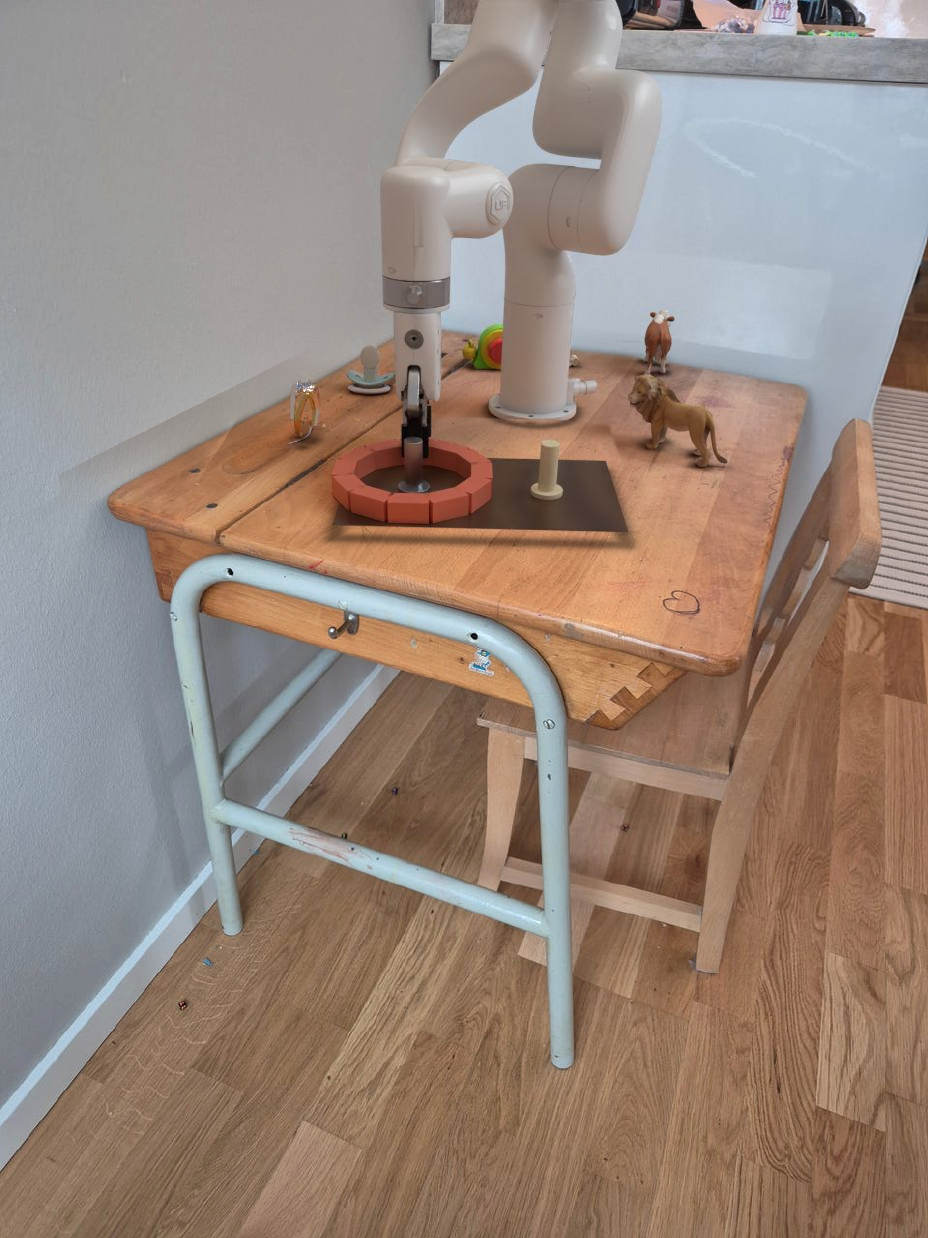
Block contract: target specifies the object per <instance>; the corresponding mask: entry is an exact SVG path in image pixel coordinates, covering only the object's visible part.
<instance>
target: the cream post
mask: <svg viewBox="0 0 928 1238" xmlns="http://www.w3.org/2000/svg"><path fill="white" fill-rule="evenodd" d="M560 445H561V444H560V442H559V441H557V440H553V439H545V440H542V441H541V443H540V452H539V453H540V454H539V459H540V467H539V481H538V483H536V484H534V485H532V487H531V495H532V496H533V497H535V498H538V499H542V500H555V499H558V498H560V497H561V496H562V493H563V489H562V487H561V486H559V485H557V484H556V480H557V468H558V460H559V457H560V456H559V455H560Z"/></svg>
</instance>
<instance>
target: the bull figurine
mask: <svg viewBox="0 0 928 1238" xmlns="http://www.w3.org/2000/svg"><path fill="white" fill-rule="evenodd" d="M649 316H650V318H652V320H651V321H650V323H649V324H648V326H647V328H646V331H645V334H644V335H645V336H644V345H645V355H644V358H643V360H642V362H643V363H647V367H646V370H645V372H644V374H649V375H651V368H652V366H653V364H654V363H653V362H654V360H655V362H656V365H658V366H660V368H659V371H658V372H659V373H661V374H665V373H666V367H665V366H666V364H667V356H668V353H669V352H670V350H671V347H672V344H673V343H672V342H673V341H672V335H671V332H670V327H671V326H672V325H671V324H672V322H674V321H675V317H674V316H672V315H671V314H670V313H669V311H668V310H667V309H661V310H660V311H659V312H658V313H657V312H655V311H651V312H650V313H649Z"/></svg>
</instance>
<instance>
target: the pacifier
mask: <svg viewBox="0 0 928 1238" xmlns="http://www.w3.org/2000/svg"><path fill="white" fill-rule="evenodd" d="M359 360H360V363H361V365H362V367H363V373H361V372H358V371H355V370H351V369H348V370H346V371H345V372H346V376H347V378H348V380H350V381H351V382H353V383H351V384H348V386H347V389H348V390H349V391H351V392H353V393H358V394H364V395H365V394H366V395H375V394H384V393H387V392H389V391H390V390H391V387H390V386H389V385H387V384H386V383H387V382H389V381H390V380H391V379H393V378H394V377H395V371H391V372H388V373H384V374H381V375H379V371H378V369H379V368H378V365H379V364H380V361H381V354H380V351H379V350H378V348H376V346H374V345H366V346H364V347H363V348H362V349H361V350H360V353H359Z"/></svg>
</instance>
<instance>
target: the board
mask: <svg viewBox="0 0 928 1238" xmlns="http://www.w3.org/2000/svg"><path fill="white" fill-rule="evenodd" d="M486 458H487V459H488V460H490V461H491V463H492V473H493V483H492V498H491V499H490V500H489V501H488V502H486V503H485V504H484V505H482V506H481V507H480V508H478V509H477V510H476V511H474V512H473V513H472V514H471V513H468V515H467V516H462V517H458V518H454V519H450V520H445V521H441V522H437V523H432V522H431V521H430V520H429V524H416V523H388V520H386V521H385V522H382V521H378V520H375V519H372V518H368V517H365V516H362V515H358V514H355V513H352V512H351V510H350V511H348V510H347V509H346V508H345V507H344V506H343V505H342V504H341V503H340V502H339V501H338V502H339V503H338V505H337V508H336V512H335V515H334V518H333V522H332V526H336V527H337V526H342V527H343V526H345V527H382V528H383V527H388V528H425V529H426V528H428V529H429V528H430V529H471V530H512V531H513V530H514V531H555V532H558V531H560V532H596V533H597V532H598V533H599V532H601V533H629V529H628V526H627V523H626V520H625V516H624V514H623V511H622V507H621V503H620V500H619V498H618V495H617V491H616V488H615V485H614V482H613V479H612V476H611V473H610V469H609V466H608V463H607V461H606V460H597V459H596V460H593V459H590V460H589V459H558V468H557V480H556V484H557V485H559V486H561V487H562V489H563V493H562V496H561V497H560V498H558V499H555V500H542V499H538V498H535V497H533V496H532V495H531V487H532V485H534V484H536V483H538V481H539V467H540V458H510V457H509V458H507V457H506V458H504V457H486ZM360 480H361V481H362V482H363V483H364V484H365V485H367V486H370V487H374V488H377V489H381V490H384V491H388V492H392V493H399V492H398V484H399V483H400V482H402V481H405V465H398V466H393V467H388V468H383V469H378V470H375V471H373V472H371V473H369V474H368V475H366V476H364V477H362V478H361V479H360ZM465 480H466V479H465V478H464V477H462V476H461V475H460V474H458V473H457V472H455V471H451V470H447V469H443V468H439V467H435V466H432V465H423V481H426V482H428V483H429V485H430V491H429V493H430V492H435V491H440V490H444V489H449V488H453V487H456V486H457V485H459V484H460V483H462V482H463V481H465Z"/></svg>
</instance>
